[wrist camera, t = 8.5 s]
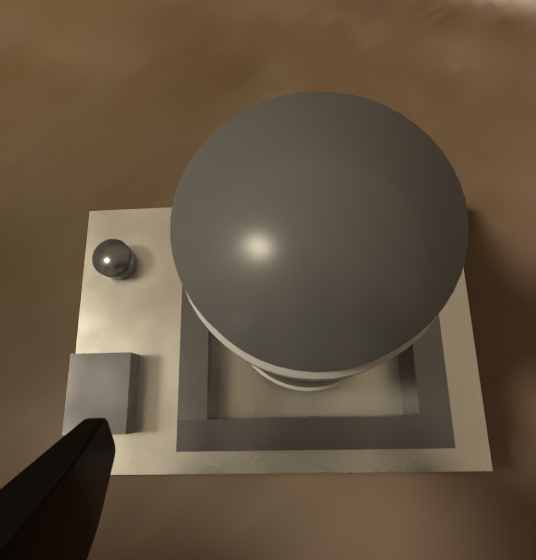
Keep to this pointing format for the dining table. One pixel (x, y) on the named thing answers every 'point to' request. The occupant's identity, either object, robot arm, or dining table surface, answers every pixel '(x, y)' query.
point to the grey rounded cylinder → (318, 236)
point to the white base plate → (253, 381)
